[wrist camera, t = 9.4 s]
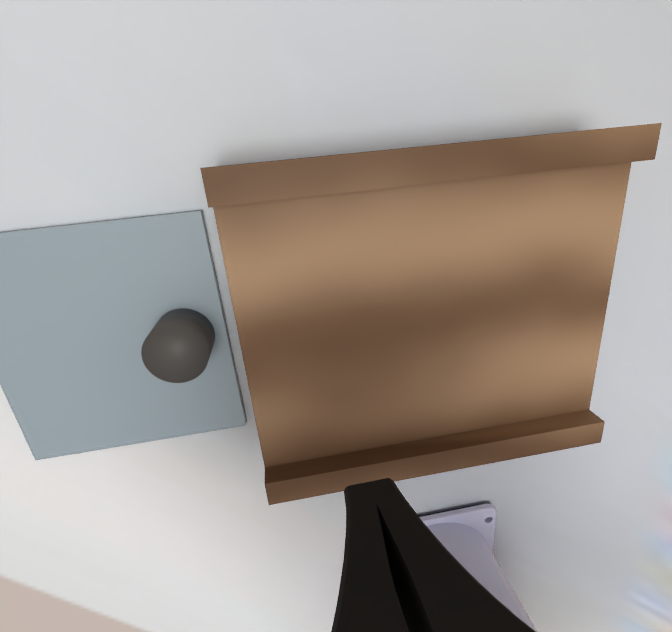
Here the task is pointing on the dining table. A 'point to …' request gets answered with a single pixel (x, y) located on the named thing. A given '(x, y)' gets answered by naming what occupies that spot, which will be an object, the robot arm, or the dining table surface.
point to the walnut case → (423, 301)
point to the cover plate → (114, 334)
